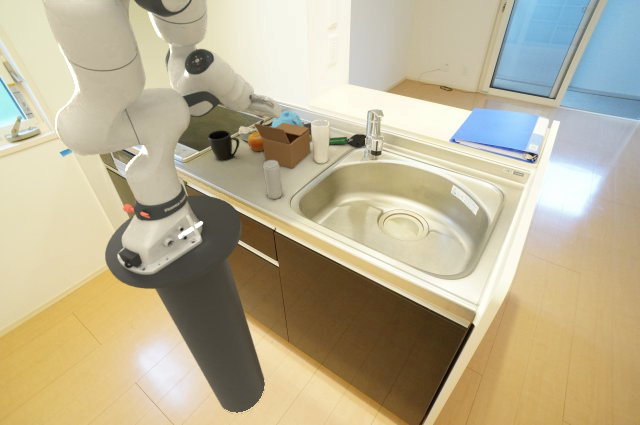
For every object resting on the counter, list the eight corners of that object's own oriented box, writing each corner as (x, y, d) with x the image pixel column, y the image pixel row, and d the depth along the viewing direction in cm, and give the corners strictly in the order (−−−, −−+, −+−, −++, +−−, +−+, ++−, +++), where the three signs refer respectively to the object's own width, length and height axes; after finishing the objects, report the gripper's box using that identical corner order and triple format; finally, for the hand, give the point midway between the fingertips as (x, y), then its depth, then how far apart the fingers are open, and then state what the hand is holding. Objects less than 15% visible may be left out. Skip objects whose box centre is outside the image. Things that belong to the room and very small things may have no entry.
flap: (289, 143, 110) (289, 143, 110) (262, 136, 115) (261, 137, 114) (283, 129, 104) (283, 130, 104) (254, 123, 109) (254, 124, 109)
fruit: (251, 134, 132) (252, 123, 124) (271, 141, 133) (273, 130, 126) (245, 150, 128) (245, 140, 121) (265, 157, 130) (267, 148, 122)
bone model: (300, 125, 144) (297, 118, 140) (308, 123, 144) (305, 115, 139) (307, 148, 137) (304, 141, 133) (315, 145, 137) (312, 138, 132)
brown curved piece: (258, 137, 144) (278, 140, 142) (255, 128, 139) (276, 131, 137) (268, 118, 151) (287, 120, 148) (265, 108, 146) (285, 111, 144)
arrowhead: (259, 133, 140) (250, 127, 147) (258, 128, 139) (249, 122, 145) (242, 138, 137) (234, 131, 143) (241, 133, 135) (232, 127, 142)
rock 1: (237, 135, 135) (246, 130, 137) (238, 139, 136) (247, 134, 139) (251, 142, 130) (260, 137, 133) (252, 146, 132) (260, 141, 135)
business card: (345, 143, 128) (347, 137, 132) (345, 142, 128) (347, 136, 132) (325, 145, 131) (327, 138, 134) (325, 144, 131) (327, 138, 134)
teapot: (281, 101, 140) (309, 111, 130) (283, 124, 147) (310, 135, 137) (258, 109, 133) (287, 121, 123) (262, 133, 140) (289, 145, 130)
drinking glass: (309, 163, 119) (307, 125, 110) (316, 155, 124) (315, 118, 115) (326, 166, 117) (326, 128, 108) (332, 157, 122) (332, 120, 113)
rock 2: (358, 140, 135) (360, 151, 134) (345, 140, 131) (347, 151, 130) (371, 131, 127) (374, 143, 126) (358, 130, 124) (360, 142, 123)
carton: (292, 168, 116) (289, 143, 110) (265, 161, 121) (261, 136, 114) (310, 152, 126) (309, 127, 120) (285, 146, 130) (282, 122, 124)
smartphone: (329, 136, 136) (317, 123, 148) (328, 134, 136) (317, 121, 147) (313, 139, 135) (302, 126, 146) (312, 137, 134) (302, 124, 145)
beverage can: (285, 196, 103) (281, 164, 95) (272, 201, 101) (267, 169, 93) (278, 189, 106) (274, 158, 98) (265, 194, 104) (260, 162, 96)
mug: (236, 165, 119) (231, 142, 113) (209, 160, 123) (203, 137, 117) (247, 155, 125) (242, 132, 119) (221, 150, 128) (216, 128, 123)
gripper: (271, 88, 84) (293, 111, 97) (214, 79, 92) (241, 101, 105) (263, 110, 84) (287, 130, 97) (207, 99, 92) (235, 119, 105)
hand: (263, 115), depth 101 cm, fingers closed
